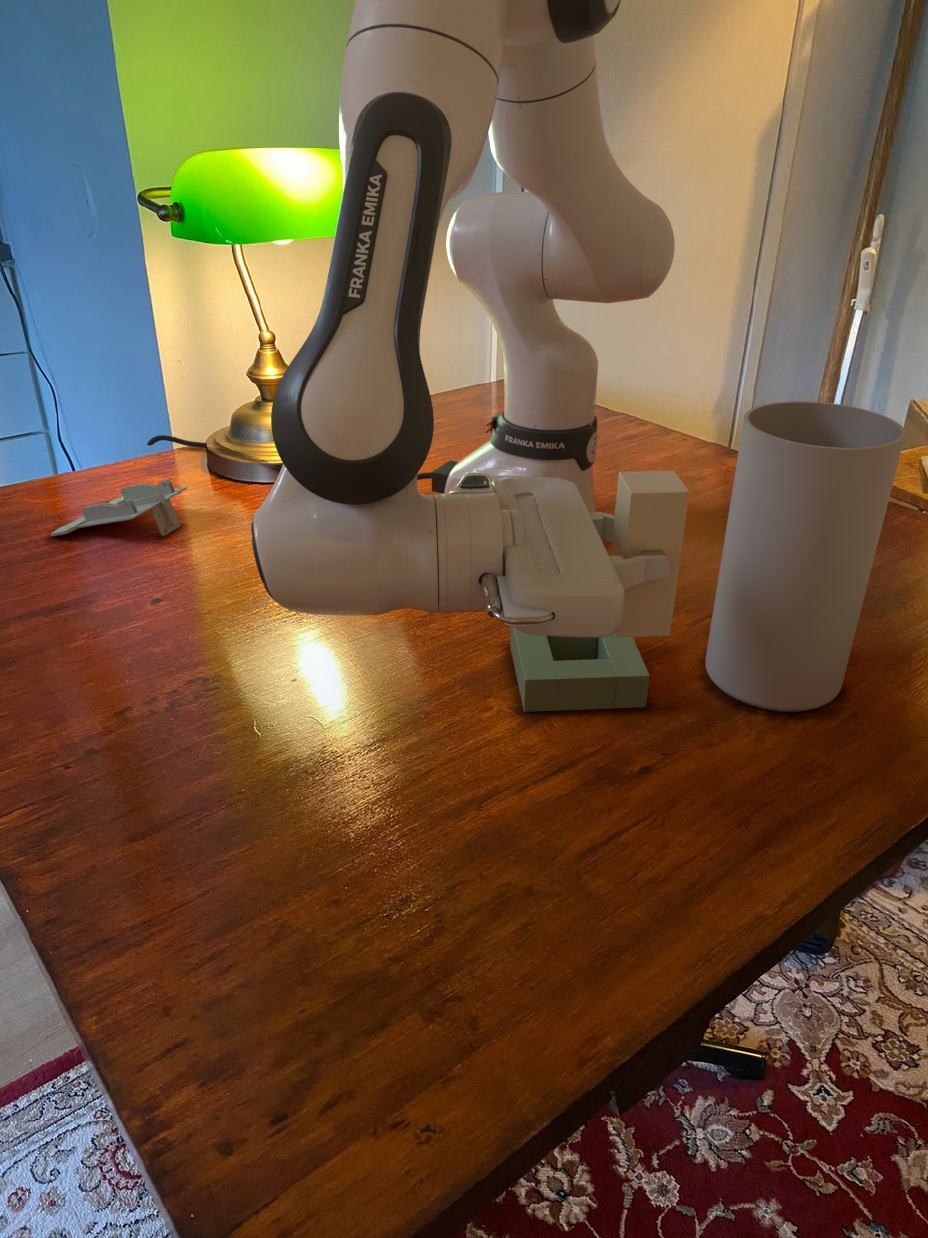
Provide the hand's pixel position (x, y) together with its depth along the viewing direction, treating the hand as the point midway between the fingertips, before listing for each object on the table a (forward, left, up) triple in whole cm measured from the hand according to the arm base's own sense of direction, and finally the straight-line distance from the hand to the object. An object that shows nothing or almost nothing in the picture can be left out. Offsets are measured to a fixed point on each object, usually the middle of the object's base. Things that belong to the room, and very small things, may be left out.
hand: (657, 547), depth 69 cm
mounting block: (-8, +8, -19) cm, 22 cm away
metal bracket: (-72, +16, -19) cm, 76 cm away
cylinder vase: (+9, +16, -19) cm, 26 cm away
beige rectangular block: (-1, 0, -7) cm, 7 cm away
